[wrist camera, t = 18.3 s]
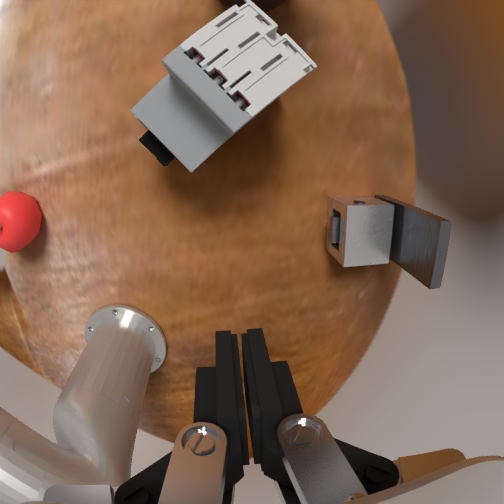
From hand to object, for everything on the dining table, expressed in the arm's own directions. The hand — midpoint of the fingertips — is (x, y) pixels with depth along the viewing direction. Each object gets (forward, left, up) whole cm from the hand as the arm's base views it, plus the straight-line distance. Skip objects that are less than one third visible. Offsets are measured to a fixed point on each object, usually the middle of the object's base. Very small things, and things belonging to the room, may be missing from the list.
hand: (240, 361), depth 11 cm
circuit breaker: (+12, +1, -27) cm, 30 cm away
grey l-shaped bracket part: (-2, -17, -27) cm, 32 cm away
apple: (+2, +28, -27) cm, 39 cm away
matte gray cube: (-2, -16, -27) cm, 31 cm away
